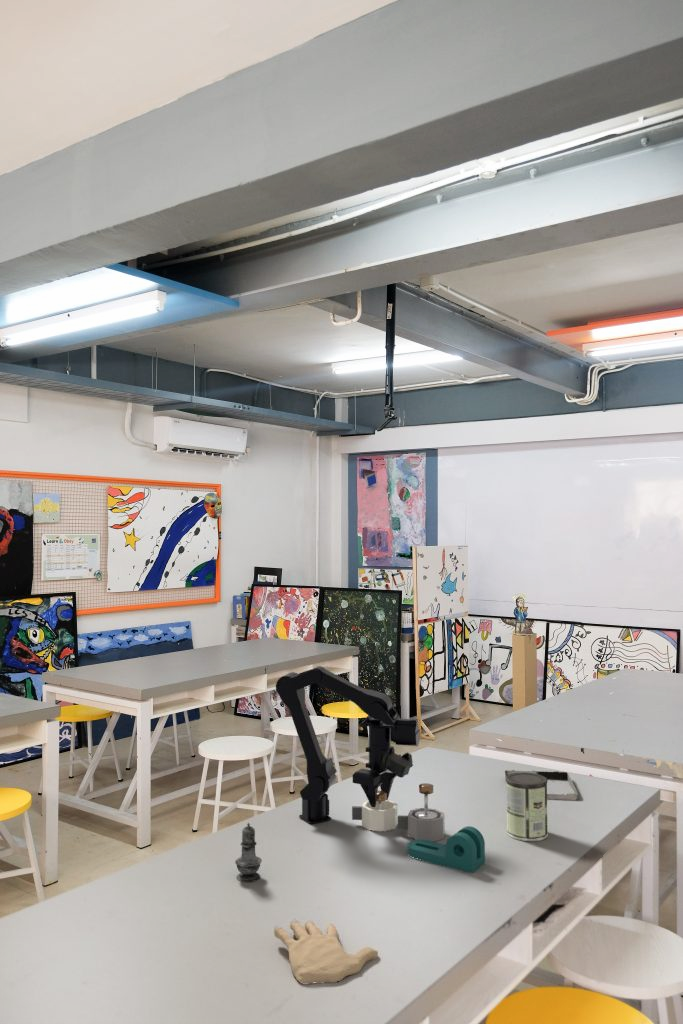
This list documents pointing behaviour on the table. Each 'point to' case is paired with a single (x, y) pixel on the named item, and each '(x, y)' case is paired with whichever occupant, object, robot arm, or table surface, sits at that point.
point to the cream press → (377, 815)
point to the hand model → (320, 953)
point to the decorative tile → (553, 776)
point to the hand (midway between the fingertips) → (379, 803)
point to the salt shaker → (248, 857)
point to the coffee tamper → (426, 802)
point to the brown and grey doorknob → (381, 798)
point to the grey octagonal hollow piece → (423, 825)
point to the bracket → (453, 850)
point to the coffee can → (526, 806)
